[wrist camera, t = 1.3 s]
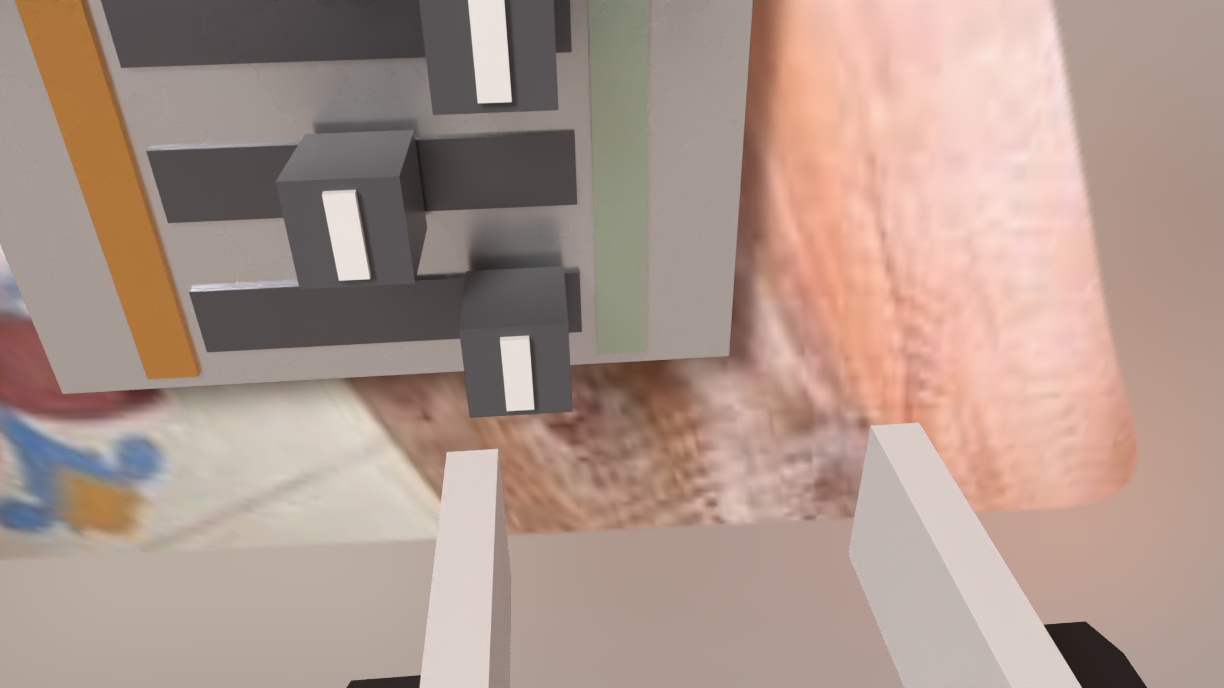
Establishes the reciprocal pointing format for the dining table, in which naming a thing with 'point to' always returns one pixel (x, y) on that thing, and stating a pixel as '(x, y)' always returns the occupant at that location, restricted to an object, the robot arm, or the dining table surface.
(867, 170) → the dining table surface
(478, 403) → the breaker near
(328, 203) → the breaker
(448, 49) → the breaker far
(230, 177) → the panel
